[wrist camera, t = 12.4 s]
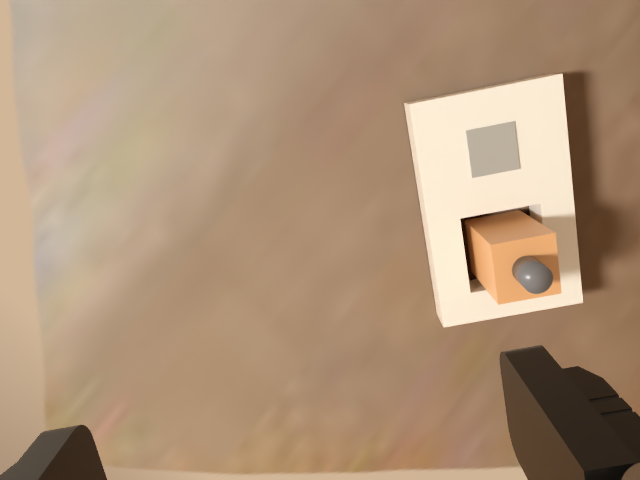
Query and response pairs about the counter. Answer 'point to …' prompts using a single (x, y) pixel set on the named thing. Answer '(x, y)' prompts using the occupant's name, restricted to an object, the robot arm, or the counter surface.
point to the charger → (513, 256)
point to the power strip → (493, 184)
